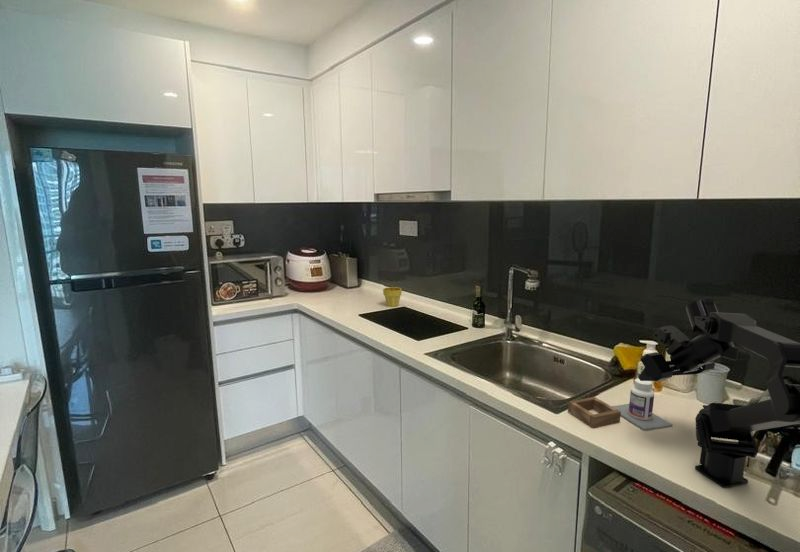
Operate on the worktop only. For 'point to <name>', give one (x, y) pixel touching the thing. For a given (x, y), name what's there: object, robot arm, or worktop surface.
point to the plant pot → (392, 296)
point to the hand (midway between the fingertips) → (652, 376)
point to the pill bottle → (641, 400)
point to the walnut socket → (581, 408)
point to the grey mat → (644, 425)
